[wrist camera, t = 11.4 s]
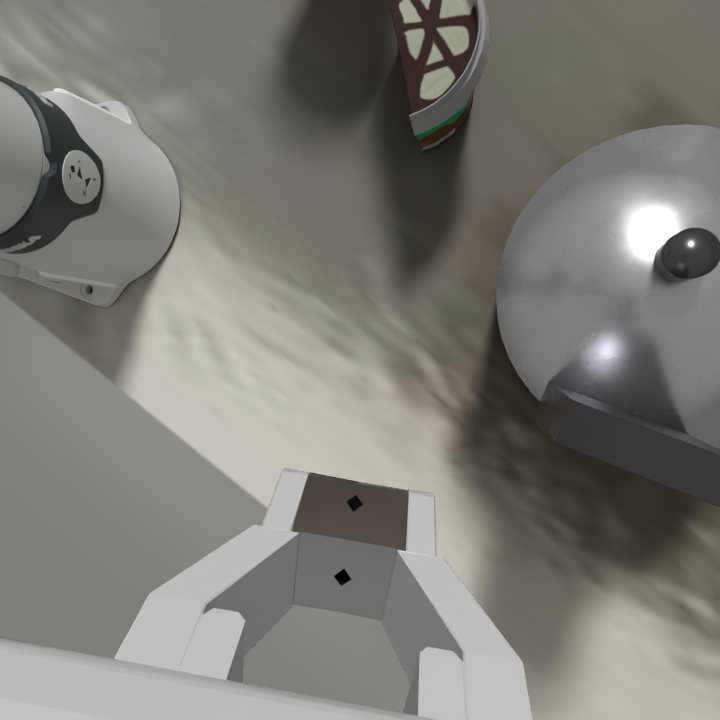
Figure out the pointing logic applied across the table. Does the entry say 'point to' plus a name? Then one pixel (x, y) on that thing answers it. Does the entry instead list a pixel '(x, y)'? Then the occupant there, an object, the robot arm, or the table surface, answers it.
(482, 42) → the food container
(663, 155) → the lid
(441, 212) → the table surface
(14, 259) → the robot arm
